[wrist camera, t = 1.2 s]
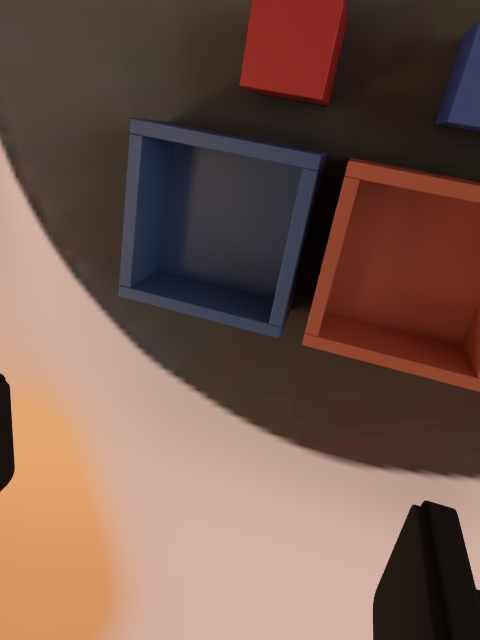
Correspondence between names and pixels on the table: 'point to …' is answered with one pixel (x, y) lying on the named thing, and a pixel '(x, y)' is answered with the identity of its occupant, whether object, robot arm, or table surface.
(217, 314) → the blue bin
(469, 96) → the blue block
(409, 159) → the table surface
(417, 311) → the terracotta bin
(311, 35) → the red block
